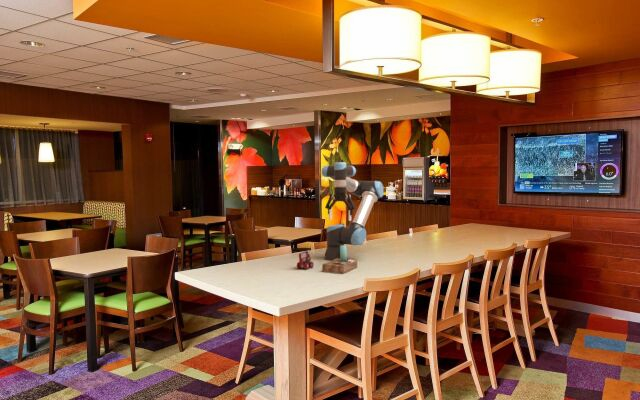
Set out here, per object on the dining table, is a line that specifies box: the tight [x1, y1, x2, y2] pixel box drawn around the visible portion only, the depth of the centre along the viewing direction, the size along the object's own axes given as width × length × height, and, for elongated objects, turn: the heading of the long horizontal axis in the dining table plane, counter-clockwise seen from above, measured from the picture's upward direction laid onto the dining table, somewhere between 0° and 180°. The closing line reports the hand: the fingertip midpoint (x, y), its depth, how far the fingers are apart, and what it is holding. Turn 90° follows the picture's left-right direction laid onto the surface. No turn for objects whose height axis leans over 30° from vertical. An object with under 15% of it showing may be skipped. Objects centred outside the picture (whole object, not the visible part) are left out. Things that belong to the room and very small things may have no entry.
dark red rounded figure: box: [296, 250, 314, 270], centre depth 296 cm, size 7×12×10 cm, turn 151°
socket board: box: [321, 259, 358, 275], centre depth 292 cm, size 14×20×5 cm
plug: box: [340, 244, 348, 262], centre depth 296 cm, size 4×4×13 cm
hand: (340, 220), depth 304 cm, fingers open, 13 cm apart
